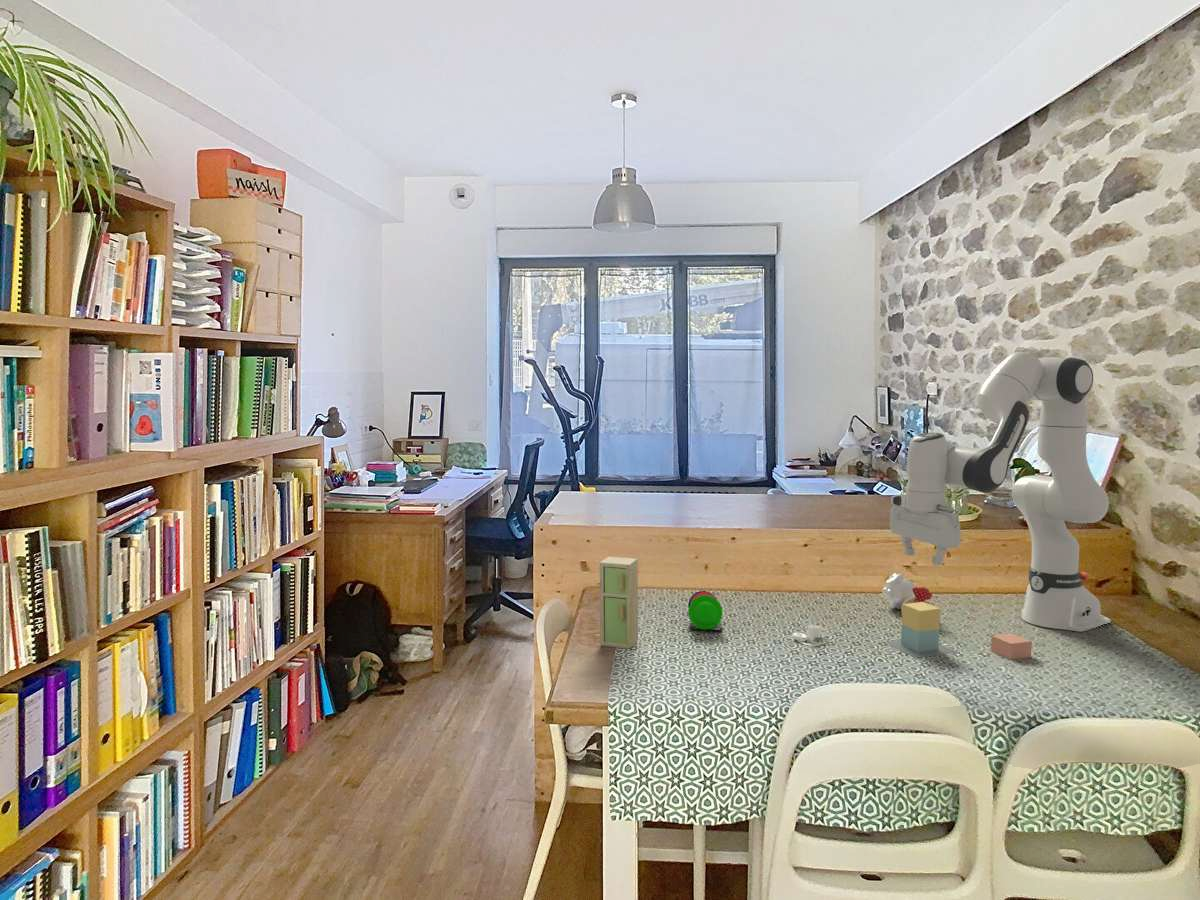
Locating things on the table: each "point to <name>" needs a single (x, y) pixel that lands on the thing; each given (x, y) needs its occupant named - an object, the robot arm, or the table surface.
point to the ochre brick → (921, 616)
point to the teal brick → (920, 639)
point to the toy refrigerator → (618, 602)
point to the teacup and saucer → (810, 635)
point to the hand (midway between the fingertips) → (923, 559)
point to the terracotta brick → (1011, 646)
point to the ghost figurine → (898, 590)
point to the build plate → (915, 654)
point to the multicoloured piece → (704, 611)
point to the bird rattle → (919, 596)
